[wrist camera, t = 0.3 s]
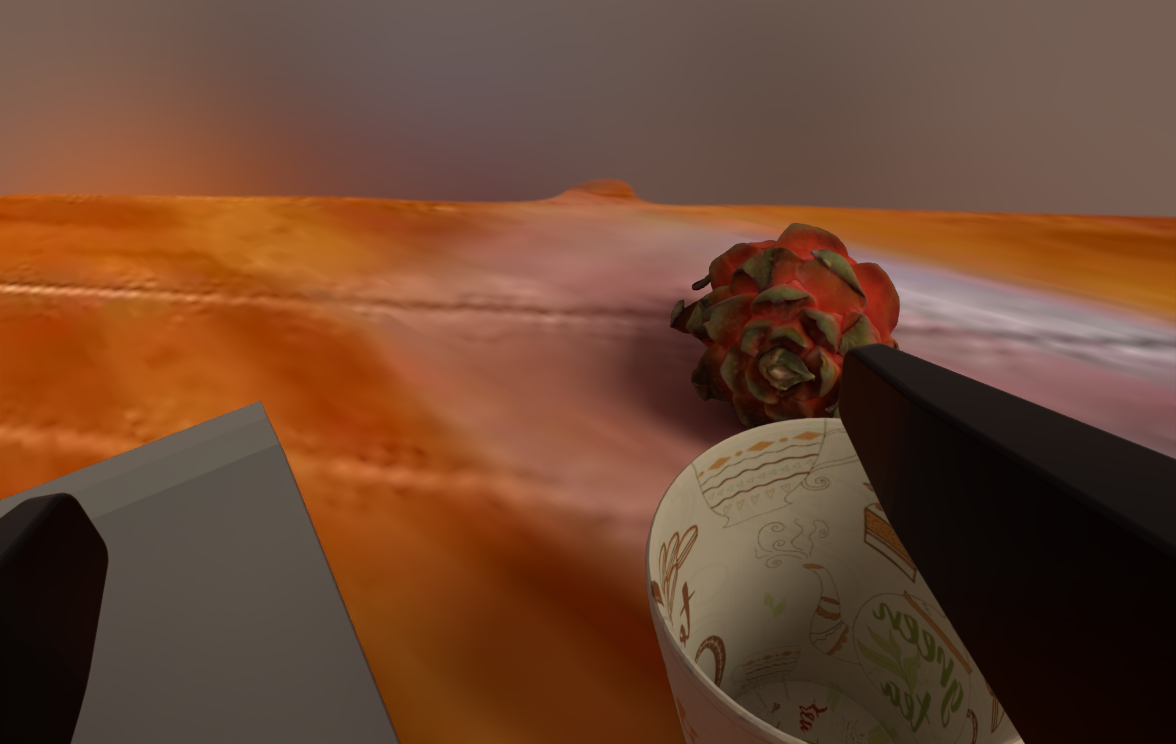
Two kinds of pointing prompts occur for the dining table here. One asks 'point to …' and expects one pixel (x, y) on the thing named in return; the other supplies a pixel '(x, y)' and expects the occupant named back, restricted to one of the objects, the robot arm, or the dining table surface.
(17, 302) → the dining table surface
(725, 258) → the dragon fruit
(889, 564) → the mug
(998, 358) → the dining table surface
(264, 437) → the grey tray
